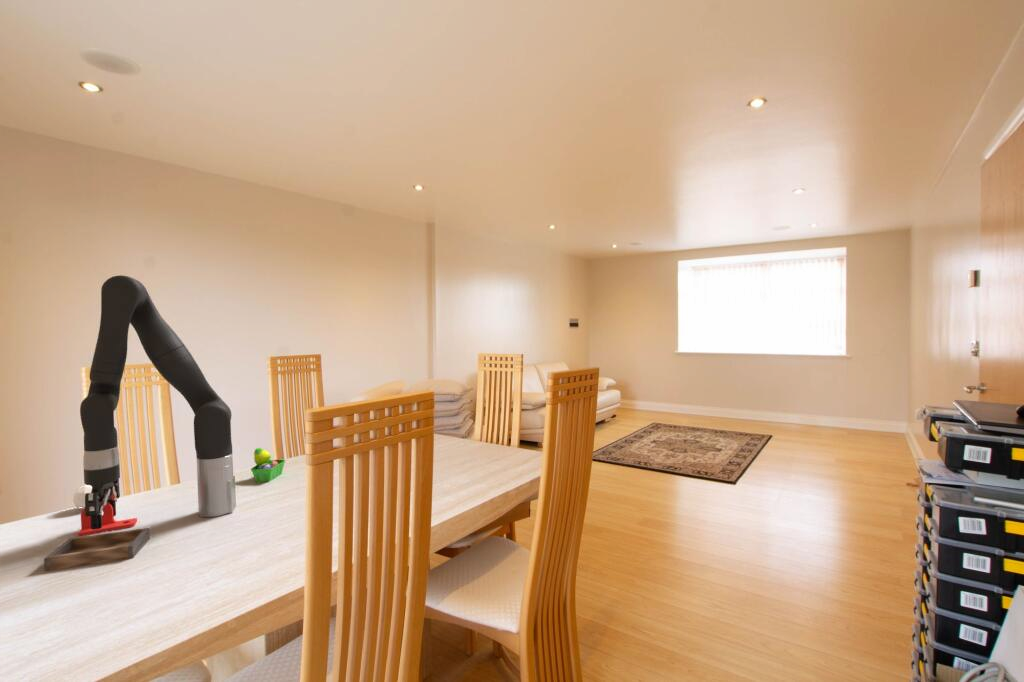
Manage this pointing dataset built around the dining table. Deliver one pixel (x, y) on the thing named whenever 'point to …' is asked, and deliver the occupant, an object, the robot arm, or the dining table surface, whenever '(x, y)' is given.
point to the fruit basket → (266, 466)
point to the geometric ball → (81, 496)
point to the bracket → (104, 522)
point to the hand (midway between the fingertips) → (104, 522)
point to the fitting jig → (97, 549)
